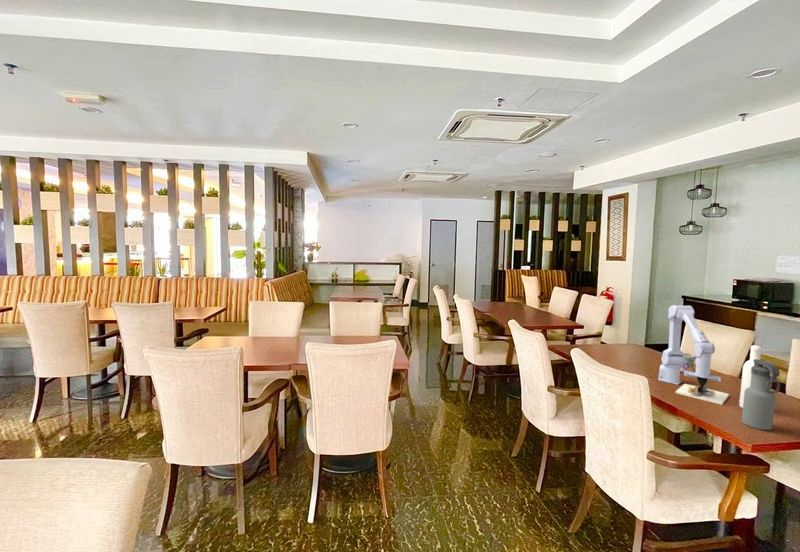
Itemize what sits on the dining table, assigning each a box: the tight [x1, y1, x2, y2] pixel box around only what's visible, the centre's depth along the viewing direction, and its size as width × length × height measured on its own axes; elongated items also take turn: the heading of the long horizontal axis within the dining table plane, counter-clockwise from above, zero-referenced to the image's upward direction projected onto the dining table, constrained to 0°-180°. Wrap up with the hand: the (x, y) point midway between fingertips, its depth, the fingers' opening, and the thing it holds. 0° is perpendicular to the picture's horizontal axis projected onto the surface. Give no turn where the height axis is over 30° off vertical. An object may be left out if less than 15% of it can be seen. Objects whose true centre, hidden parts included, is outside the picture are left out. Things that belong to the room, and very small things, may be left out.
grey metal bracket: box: [692, 385, 716, 396], centre depth 203 cm, size 13×8×4 cm, turn 124°
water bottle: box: [741, 359, 781, 431], centre depth 168 cm, size 10×10×28 cm
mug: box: [680, 352, 697, 374], centre depth 242 cm, size 12×9×11 cm
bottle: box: [738, 344, 765, 409], centre depth 187 cm, size 8×8×30 cm
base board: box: [675, 383, 730, 406], centre depth 204 cm, size 19×18×5 cm
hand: (700, 392), depth 199 cm, fingers closed, pressing on grey metal bracket
